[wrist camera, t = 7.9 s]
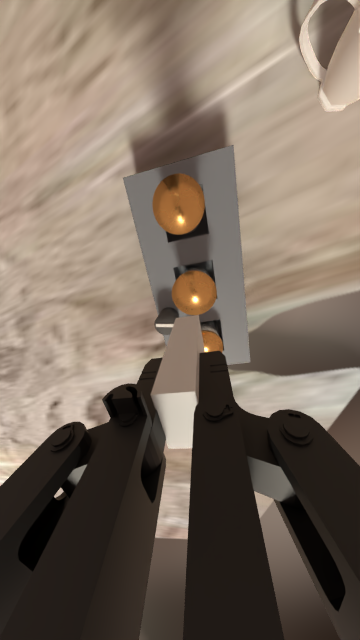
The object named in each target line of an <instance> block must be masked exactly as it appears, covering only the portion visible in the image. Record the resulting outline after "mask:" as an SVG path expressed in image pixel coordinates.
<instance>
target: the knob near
mask: <svg viewBox="0 0 360 640" xmlns="http://www.w3.org/2000/svg"><path fill="white" fill-rule="evenodd" d="M152 207H153V213H154V216H155V219H156V221H157V222H158V224H159V225H160V226H161V227H162V228H163V229H164V230H165V231H167V232H169V233H172V234H176V235H182V234H189V233H192V232H193V231H195V230H196V229H197V227H198V226H199V224H200V222H201V219H202V217H203V214H204V208H205V200H204V194H203V191H202V189H201V187H200V185H199V184H198V183H197V181H196V180H195V179H193V178H192V177H190V176H188V175H186V174H181V173H177V174H172V175H170V176H168V177H166V178H164V179H163V180H162V181H161V182H160V183H159V185H158V186H157V188H156V190H155V193H154V196H153V202H152Z"/></svg>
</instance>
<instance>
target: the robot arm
mask: <svg viewBox="0 0 360 640" xmlns="http://www.w3.org/2000/svg"><path fill="white" fill-rule="evenodd" d="M102 400H103V403H104V405H105V407H106V409H107V411H108V413H109V415H110V417H111V418H110V420H109V422H107V423H105V424H102V425H100V426H97V427H94V428H91V429H88V430H87V429H86V427H85V426H84V424H82V423H81V422H72V423H69V424H66V425H64V426H62V427H61V428H59V429H57V430H56V431H55V432H54V433H53V434H51V435H50V436H49V437H48V438H47V439H46V440H45V441H44V442H43V443H42V444H41V445H40V446H39V447H38V448H37V449H36V451H35V452H34V453H33V454H32V455H31V456H30V457H29V458H28V459H27V460H26V461H25V462H24V463H23V464H22V465H21V466H20V467H19V468H18V469H17V470H16V471H15V472H14V473H13V474H12V475H11V476H10V477H9V478H8V479H7V480H6V481H5V482H4V483H3V484H2V485H1V486H0V640H139V635H140V628H141V621H142V615H143V609H144V603H145V596H146V589H147V583H148V577H149V571H150V563H151V558H152V551H153V544H154V538H155V532H156V526H157V519H158V513H159V506H160V500H161V494H162V487H163V481H164V474H165V468H166V458H165V455H164V453H163V452H164V446H165V440H166V442H167V445H168V448H169V449H177V448H192V464H191V485H190V505H189V526H188V548H187V568H186V589H185V611H184V632H183V640H284V636H283V632H282V626H281V621H280V616H279V612H278V607H277V602H276V597H275V592H274V587H273V582H272V578H271V572H270V567H269V563H268V558H267V553H266V548H265V543H264V539H263V533H262V528H261V524H260V519H259V514H258V509H257V504H256V499H255V494H254V491H256V492H258V493H260V494H263V495H265V496H268V497H270V498H273V499H274V501H275V503H276V505H277V507H278V510H279V512H280V514H281V516H282V518H283V520H284V522H285V524H286V526H287V528H288V530H289V533H290V535H291V537H292V539H293V541H294V543H295V545H296V547H297V549H298V552H299V554H300V556H301V558H302V560H303V562H304V564H305V566H306V568H307V570H308V573H309V575H310V577H311V579H312V581H313V583H314V585H315V587H316V589H317V591H318V593H319V595H320V598H321V600H322V602H323V604H324V606H325V608H326V610H327V612H328V615H329V616H330V619H331V621H332V623H333V625H334V627H335V629H336V631H337V633H338V636H339V638H340V640H360V466H359V465H358V464H357V463H356V462H355V461H354V460H353V459H352V458H351V457H350V455H349V454H348V453H347V452H346V451H345V450H344V449H343V448H342V447H341V446H340V445H339V444H338V443H337V442H336V441H335V440H334V438H333V437H332V436H331V435H330V434H329V433H328V432H327V431H326V430H325V429H324V428H323V427H322V426H321V425H320V424H319V423H318V422H317V421H315V420H314V419H313V418H312V417H310V416H308V415H306V414H304V413H302V412H299V411H294V410H289V409H288V410H279V411H277V412H275V413H273V414H272V415H271V416H270V418H266V417H261V416H257V415H254V414H251V413H248V412H246V411H245V410H243V409H242V408H241V407H239V406H238V404H237V403H236V402H235V399H234V397H233V392H232V387H231V382H230V377H229V372H228V367H227V362H226V357H225V355H224V354H223V353H222V352H221V351H212V352H205V349H204V343H203V337H202V332H201V326H200V320H199V315H194V316H187V317H180V318H176V319H175V322H174V325H173V328H172V331H171V334H170V337H169V340H168V343H167V346H166V349H165V352H164V355H163V358H156V359H151V360H150V361H149V362H148V363H147V364H146V365H145V367H144V369H143V371H142V374H141V375H140V378H139V380H138V382H137V384H124V385H121V386H118V387H116V388H114V389H113V390H111V391H110V392H109V393H107V395H106V396H105V397H104V398H103V399H102ZM60 487H61V488H62V489H63V491H64V492H63V493H62V494H61V495H60V496H58V497H56V498H55V497H54V495H55V494H56V493H57V491H58V490H59V489H60Z"/></svg>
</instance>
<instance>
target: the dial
mask: <svg viewBox="0 0 360 640" xmlns="http://www.w3.org/2000/svg"><path fill="white" fill-rule="evenodd" d="M176 318H179V314H178V312H177V311H176V310H175V309H174V308H171V307H167V308H164V309H163V310H162V311H161V312H160V314H159V315H158V317H157V319H156V320H155V328H156V330H157V331H158V332H159V333H160V334H163V335H170V334H171V331H172V328H173V325H174V322H175V319H176Z"/></svg>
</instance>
